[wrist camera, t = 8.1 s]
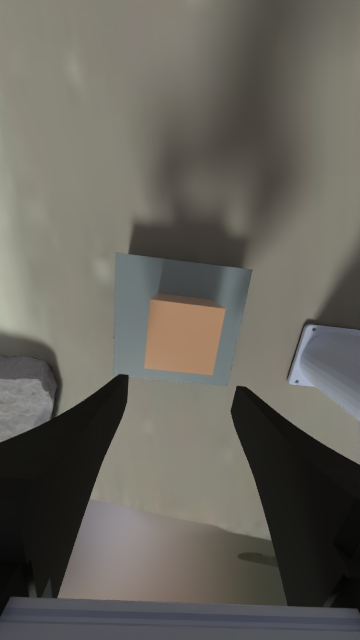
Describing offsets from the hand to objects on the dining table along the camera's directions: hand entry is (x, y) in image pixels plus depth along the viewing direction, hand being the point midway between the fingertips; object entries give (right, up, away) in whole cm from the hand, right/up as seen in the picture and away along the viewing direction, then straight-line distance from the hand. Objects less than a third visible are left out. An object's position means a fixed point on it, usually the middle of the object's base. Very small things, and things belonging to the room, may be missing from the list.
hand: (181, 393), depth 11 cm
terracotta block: (0, +5, +5) cm, 7 cm away
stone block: (-20, -5, +11) cm, 24 cm away
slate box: (0, +5, +9) cm, 10 cm away
